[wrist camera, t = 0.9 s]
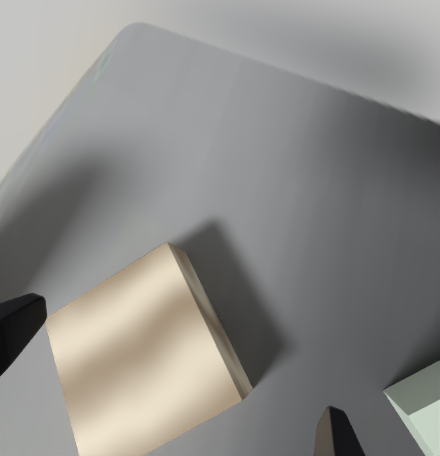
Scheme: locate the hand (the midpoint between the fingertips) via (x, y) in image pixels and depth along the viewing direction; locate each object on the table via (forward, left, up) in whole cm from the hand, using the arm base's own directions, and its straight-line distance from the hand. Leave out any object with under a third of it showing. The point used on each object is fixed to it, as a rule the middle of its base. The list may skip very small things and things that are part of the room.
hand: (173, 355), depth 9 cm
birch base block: (+3, +8, -16) cm, 18 cm away
